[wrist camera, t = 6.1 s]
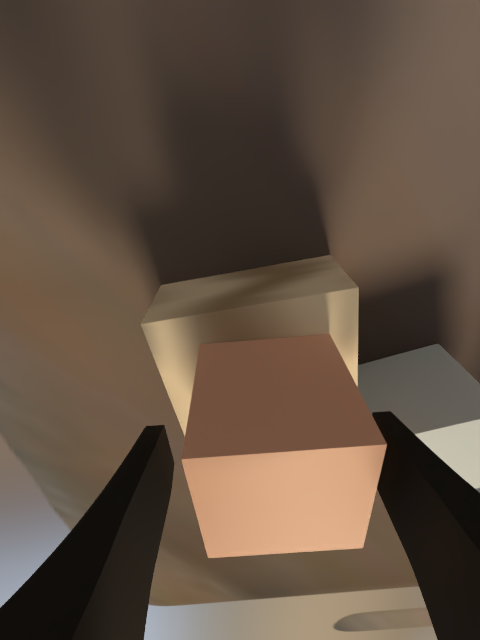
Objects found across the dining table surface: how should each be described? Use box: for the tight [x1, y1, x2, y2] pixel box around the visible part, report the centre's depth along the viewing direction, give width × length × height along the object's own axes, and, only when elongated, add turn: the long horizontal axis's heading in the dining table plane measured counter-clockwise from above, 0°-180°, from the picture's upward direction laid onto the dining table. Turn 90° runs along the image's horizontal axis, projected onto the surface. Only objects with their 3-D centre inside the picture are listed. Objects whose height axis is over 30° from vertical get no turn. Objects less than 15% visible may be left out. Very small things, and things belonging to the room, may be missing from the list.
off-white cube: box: [358, 344, 480, 489], centre depth 16 cm, size 5×5×5 cm
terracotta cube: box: [181, 334, 387, 558], centre depth 11 cm, size 5×5×5 cm
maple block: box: [141, 255, 359, 435], centre depth 15 cm, size 8×8×4 cm
